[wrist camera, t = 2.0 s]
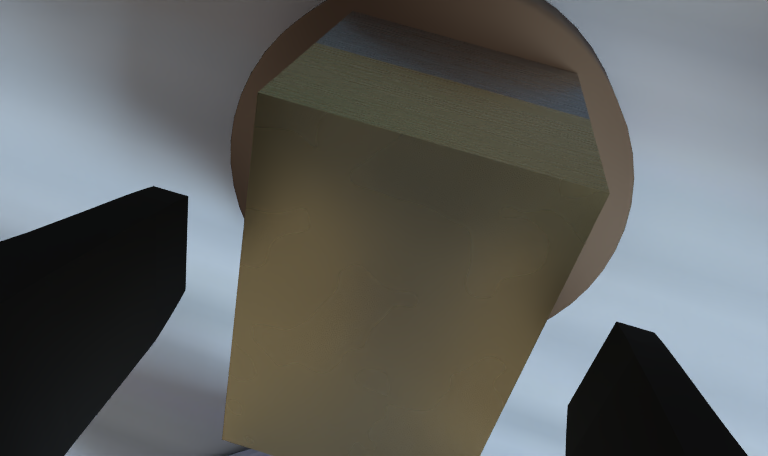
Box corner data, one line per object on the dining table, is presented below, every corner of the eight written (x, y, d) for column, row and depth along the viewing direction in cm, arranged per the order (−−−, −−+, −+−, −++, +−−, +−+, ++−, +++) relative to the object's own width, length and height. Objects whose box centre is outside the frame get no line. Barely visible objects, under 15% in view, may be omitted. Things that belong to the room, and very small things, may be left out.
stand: (380, 337, 19) (366, 384, 17) (194, 91, 15) (154, 118, 14) (678, 227, 15) (698, 274, 13) (512, -129, 12) (510, -128, 10)
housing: (470, 334, 15) (451, 512, 11) (303, 283, 15) (221, 439, 11) (577, 72, 11) (610, 193, 7) (352, 10, 12) (257, 92, 7)
